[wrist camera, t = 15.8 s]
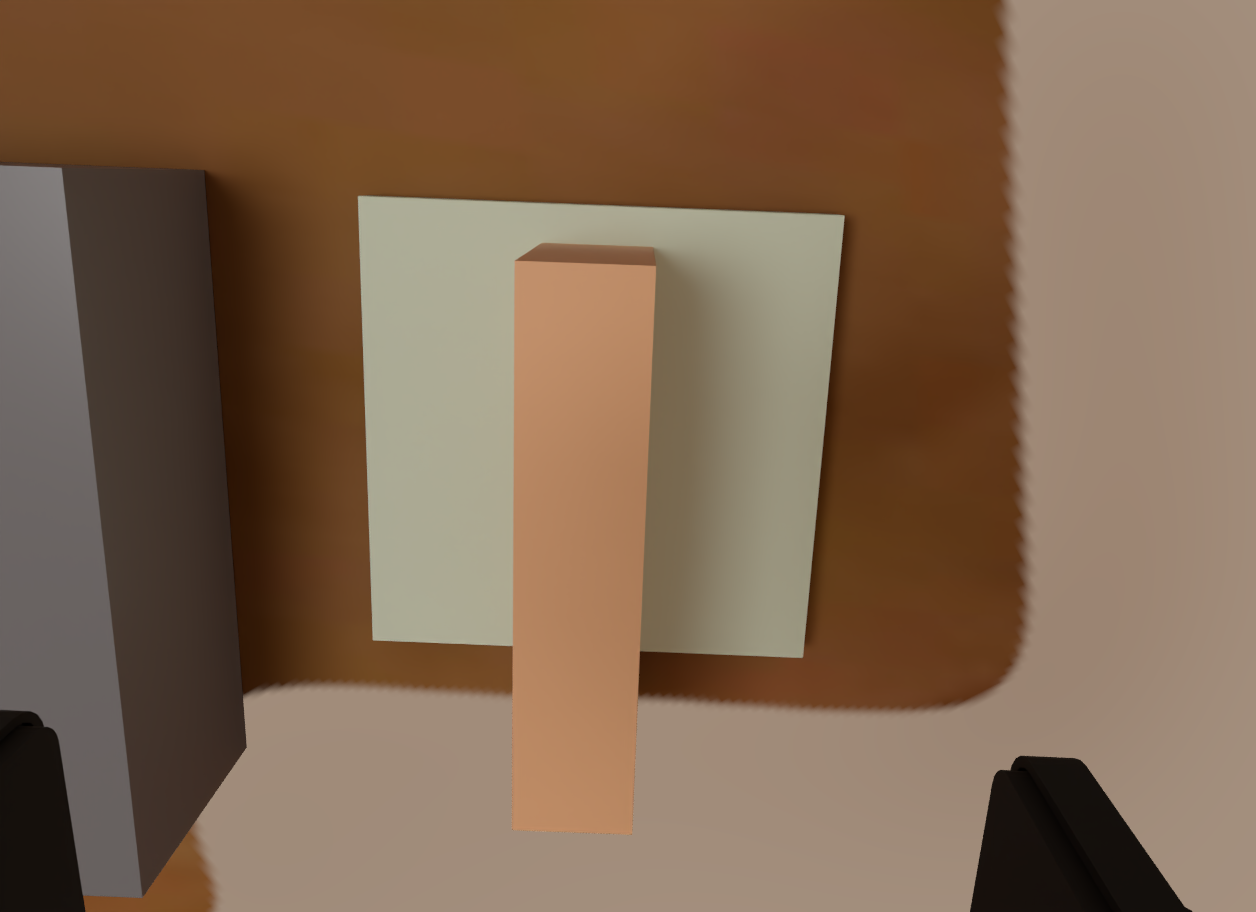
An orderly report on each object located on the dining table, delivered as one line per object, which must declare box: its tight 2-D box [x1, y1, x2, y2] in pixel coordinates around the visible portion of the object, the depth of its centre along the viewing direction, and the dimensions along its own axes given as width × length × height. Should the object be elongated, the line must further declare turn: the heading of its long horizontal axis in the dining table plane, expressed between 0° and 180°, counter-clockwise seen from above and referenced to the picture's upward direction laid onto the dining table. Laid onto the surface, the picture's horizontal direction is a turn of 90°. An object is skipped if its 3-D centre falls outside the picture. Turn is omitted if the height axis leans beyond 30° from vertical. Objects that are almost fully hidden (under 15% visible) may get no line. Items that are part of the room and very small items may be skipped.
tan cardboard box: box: [512, 243, 656, 835], centre depth 26 cm, size 3×6×14 cm
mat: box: [358, 195, 845, 658], centre depth 29 cm, size 13×13×1 cm
